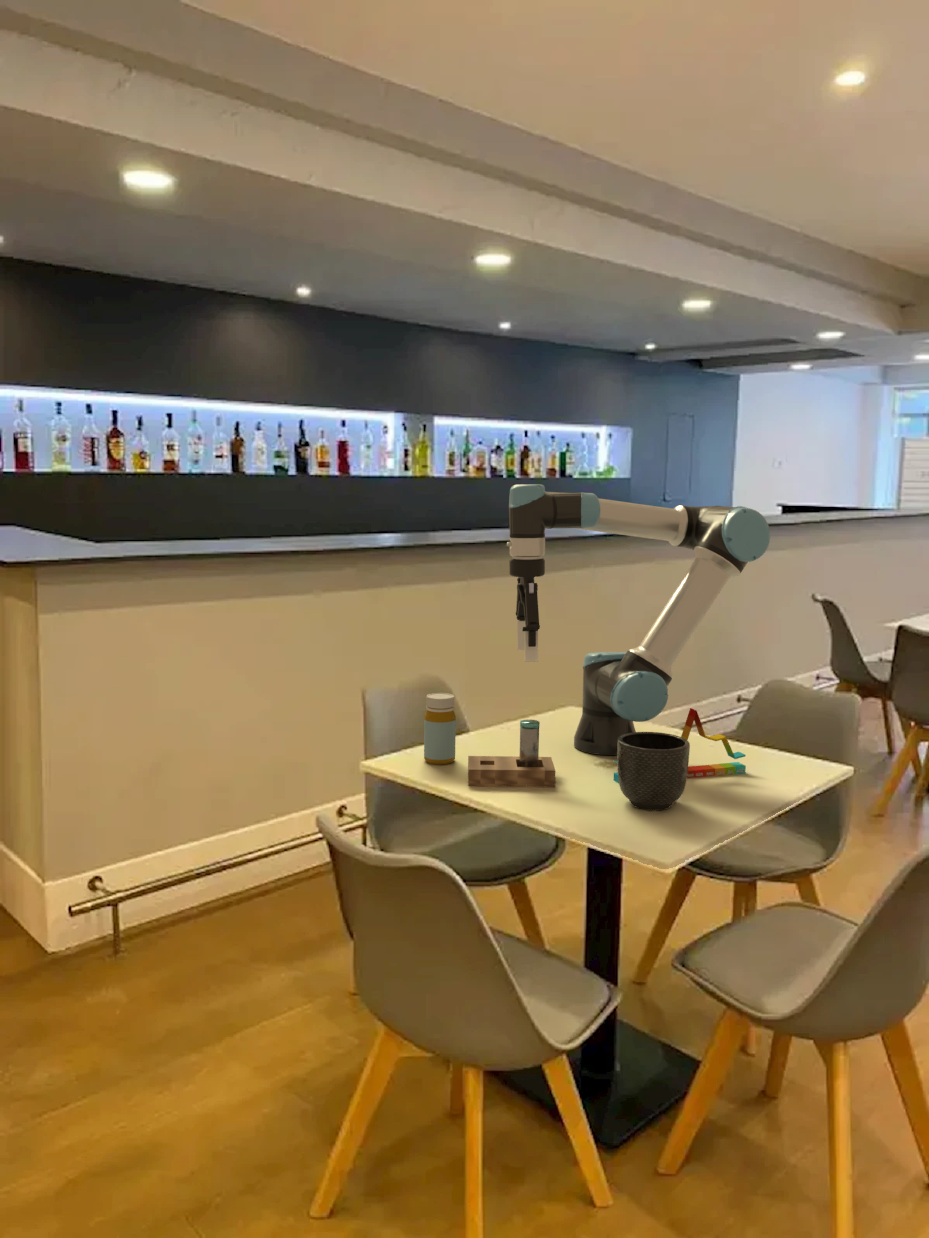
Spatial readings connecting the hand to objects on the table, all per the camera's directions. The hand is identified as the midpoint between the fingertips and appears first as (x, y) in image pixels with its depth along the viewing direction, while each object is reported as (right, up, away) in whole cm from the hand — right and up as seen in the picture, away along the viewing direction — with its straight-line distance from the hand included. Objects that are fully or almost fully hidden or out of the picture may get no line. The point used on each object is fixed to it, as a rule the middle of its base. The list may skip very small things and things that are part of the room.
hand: (527, 655), depth 211 cm
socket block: (-4, -26, -3) cm, 27 cm away
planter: (+23, -29, -18) cm, 41 cm away
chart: (+33, -27, 0) cm, 43 cm away
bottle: (-19, -24, +9) cm, 32 cm away
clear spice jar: (0, -26, -3) cm, 26 cm away
